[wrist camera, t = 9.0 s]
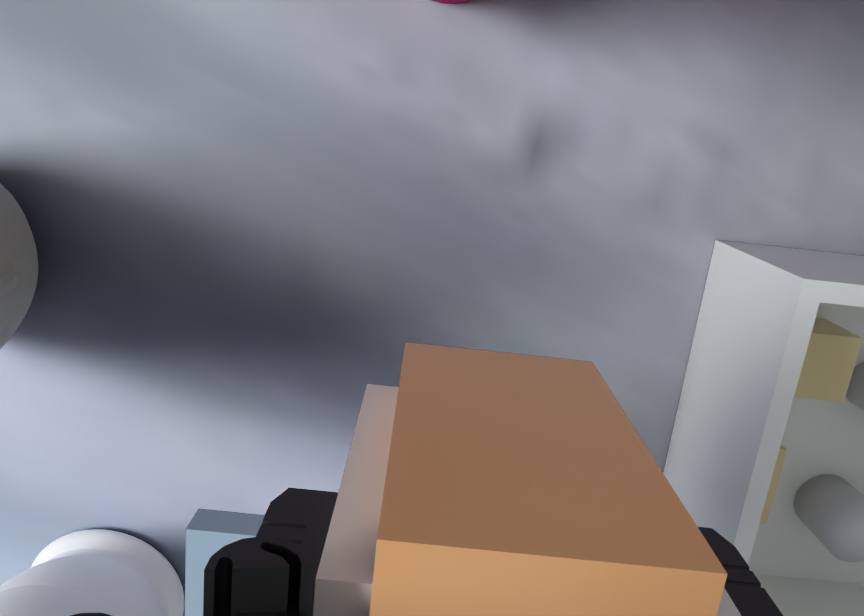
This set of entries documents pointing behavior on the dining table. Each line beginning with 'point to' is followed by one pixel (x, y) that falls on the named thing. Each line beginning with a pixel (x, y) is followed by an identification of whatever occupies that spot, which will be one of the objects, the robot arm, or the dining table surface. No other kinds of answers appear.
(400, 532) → the lid
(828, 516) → the cabinet body
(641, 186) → the dining table surface
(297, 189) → the dining table surface
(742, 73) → the dining table surface
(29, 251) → the grey rounded cylinder
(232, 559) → the robot arm
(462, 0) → the pepper mill
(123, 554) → the jar
